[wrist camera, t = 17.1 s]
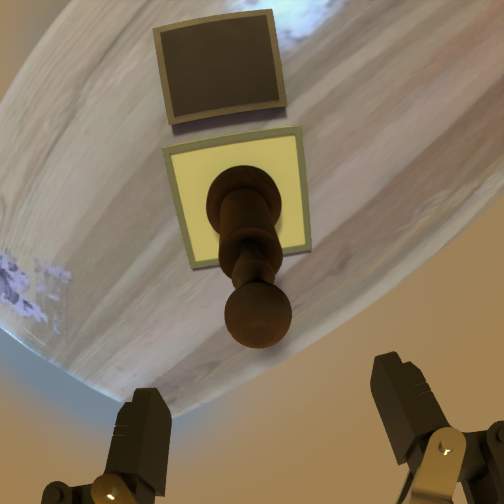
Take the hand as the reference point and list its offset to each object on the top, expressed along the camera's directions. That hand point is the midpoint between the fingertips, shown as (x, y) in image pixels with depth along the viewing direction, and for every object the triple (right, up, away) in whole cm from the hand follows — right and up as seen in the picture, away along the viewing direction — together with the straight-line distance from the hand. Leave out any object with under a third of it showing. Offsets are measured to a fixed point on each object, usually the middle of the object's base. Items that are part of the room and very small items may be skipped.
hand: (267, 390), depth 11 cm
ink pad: (-3, +21, +13) cm, 25 cm away
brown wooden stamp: (-1, +10, +18) cm, 21 cm away
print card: (-1, +10, +19) cm, 21 cm away
